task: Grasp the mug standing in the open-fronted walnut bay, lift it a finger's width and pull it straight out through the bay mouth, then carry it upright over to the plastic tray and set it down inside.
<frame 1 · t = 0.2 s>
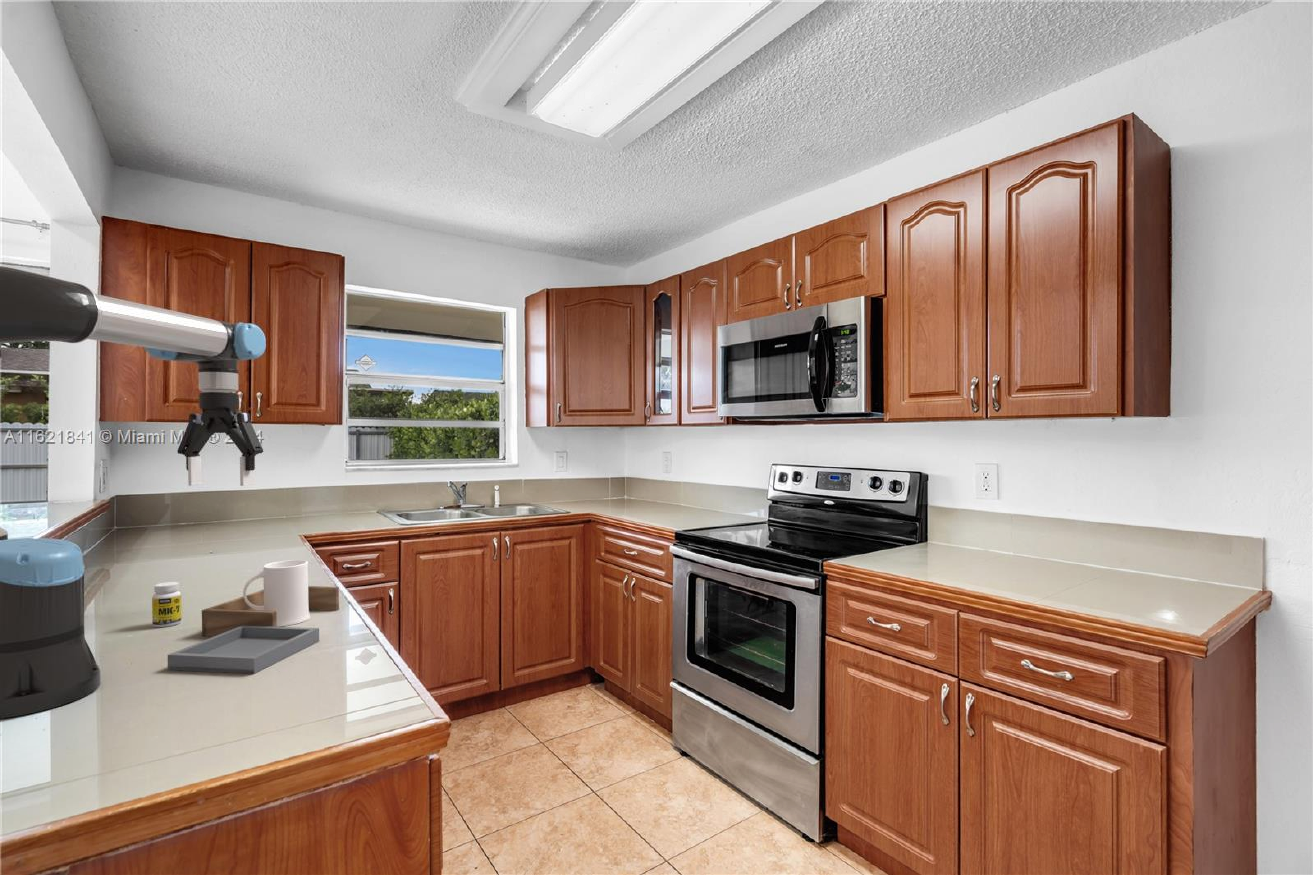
hand: (220, 485, 145), 28 cm above the counter, fingers open, 13 cm apart
supplement bottle: (167, 625, 131), on the counter
bay: (277, 621, 132), on the counter
tray: (248, 654, 113), on the counter
mug: (277, 622, 132), on the counter
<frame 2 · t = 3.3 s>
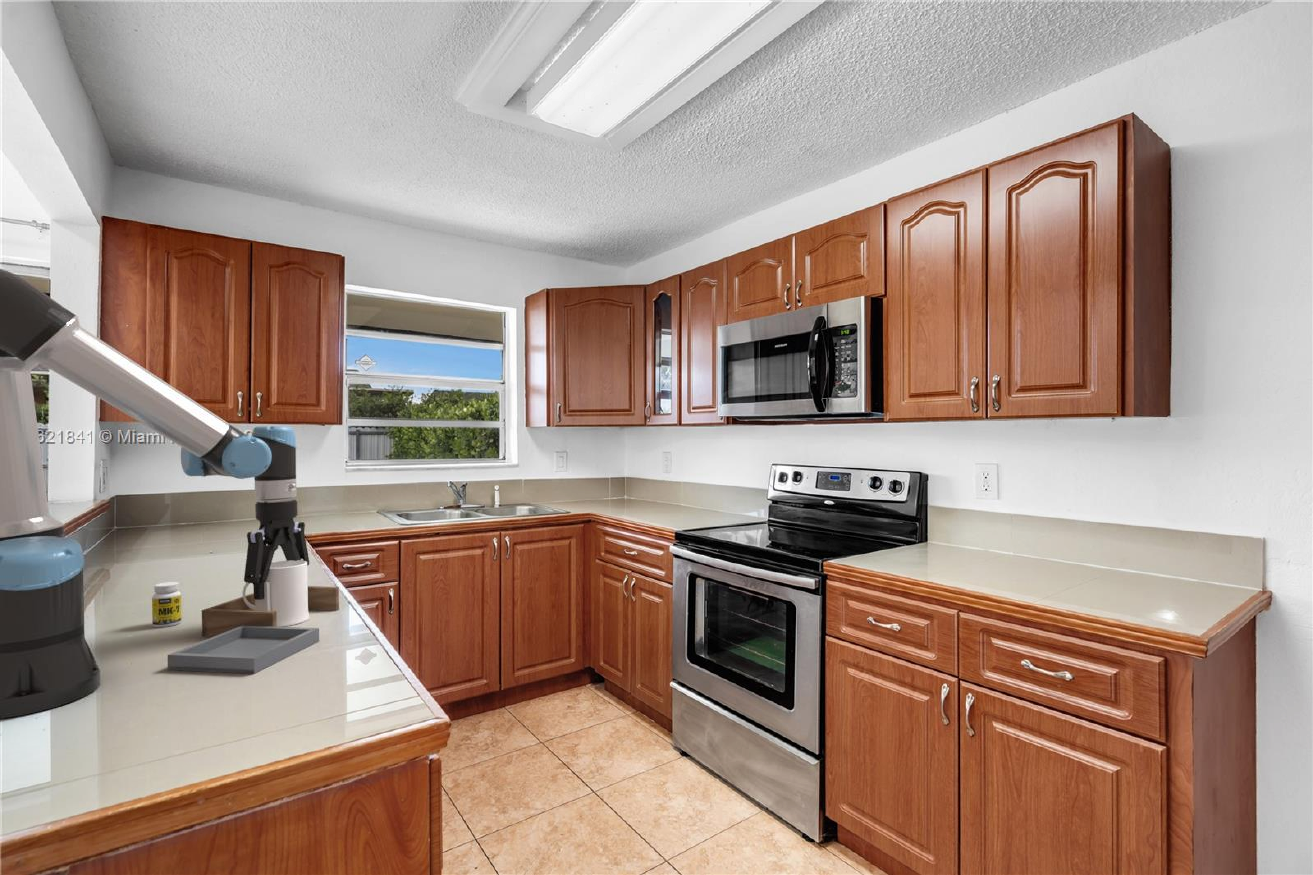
hand: (279, 607, 133), 3 cm above the counter, fingers closed on mug, 8 cm apart
mug: (277, 623, 132), on the counter, touching gripper
everything else where it was.
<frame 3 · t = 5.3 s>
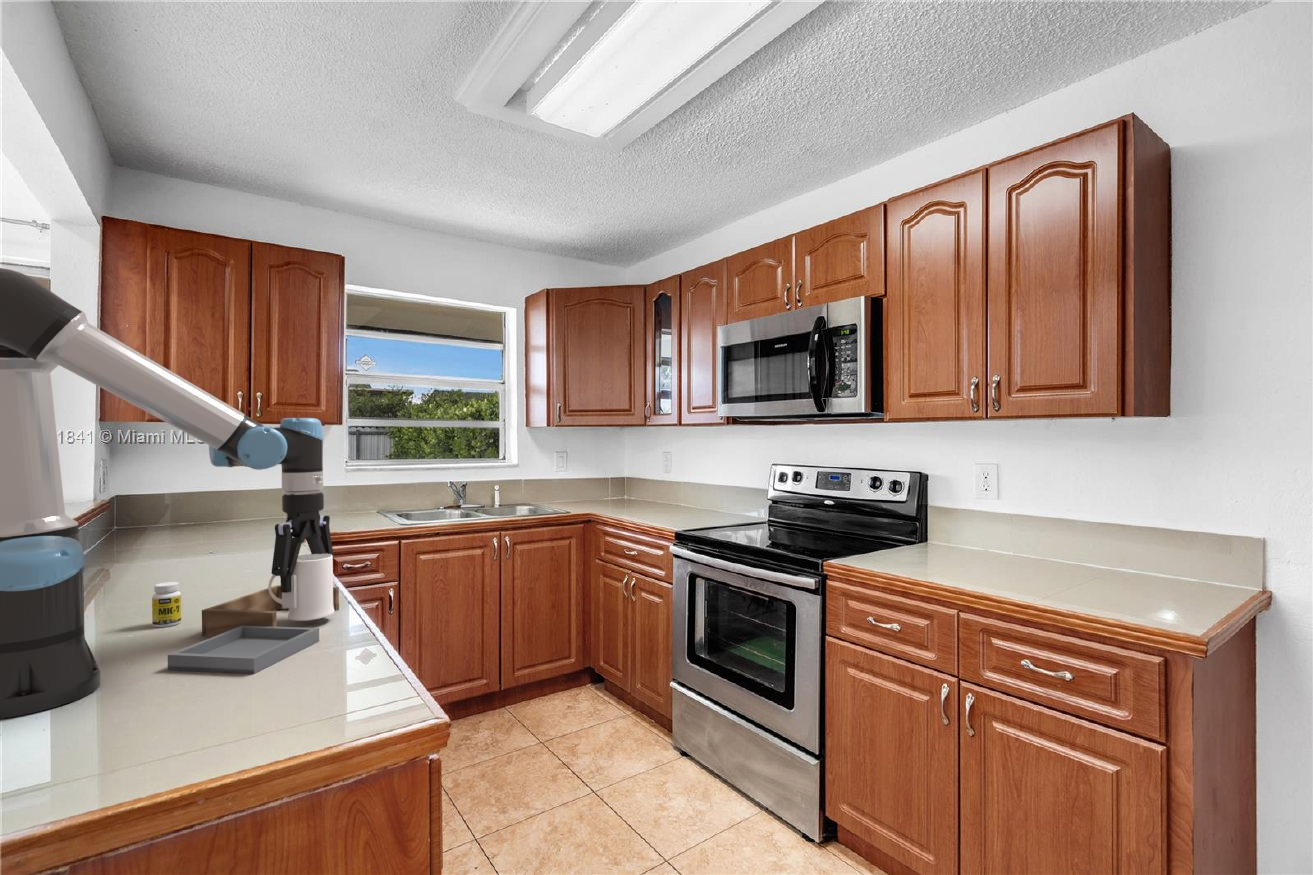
hand: (305, 601, 132), 4 cm above the counter, fingers closed on mug, 8 cm apart
mug: (302, 617, 131), point 1 cm above the counter, touching gripper
everything else where it was.
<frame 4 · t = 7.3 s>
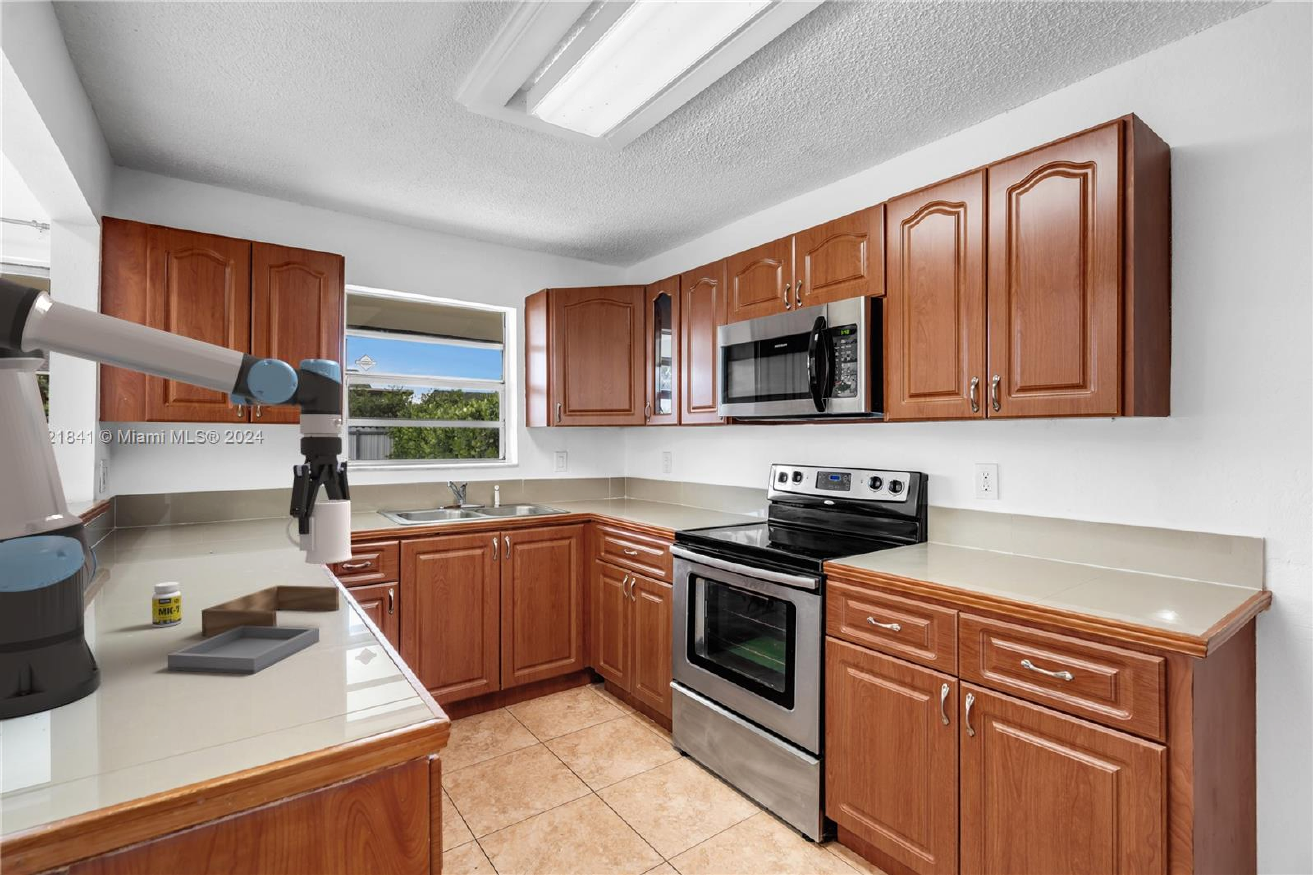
hand: (322, 546, 130), 16 cm above the counter, fingers closed on mug, 8 cm apart
mug: (319, 561, 129), point 13 cm above the counter, touching gripper
everything else where it was.
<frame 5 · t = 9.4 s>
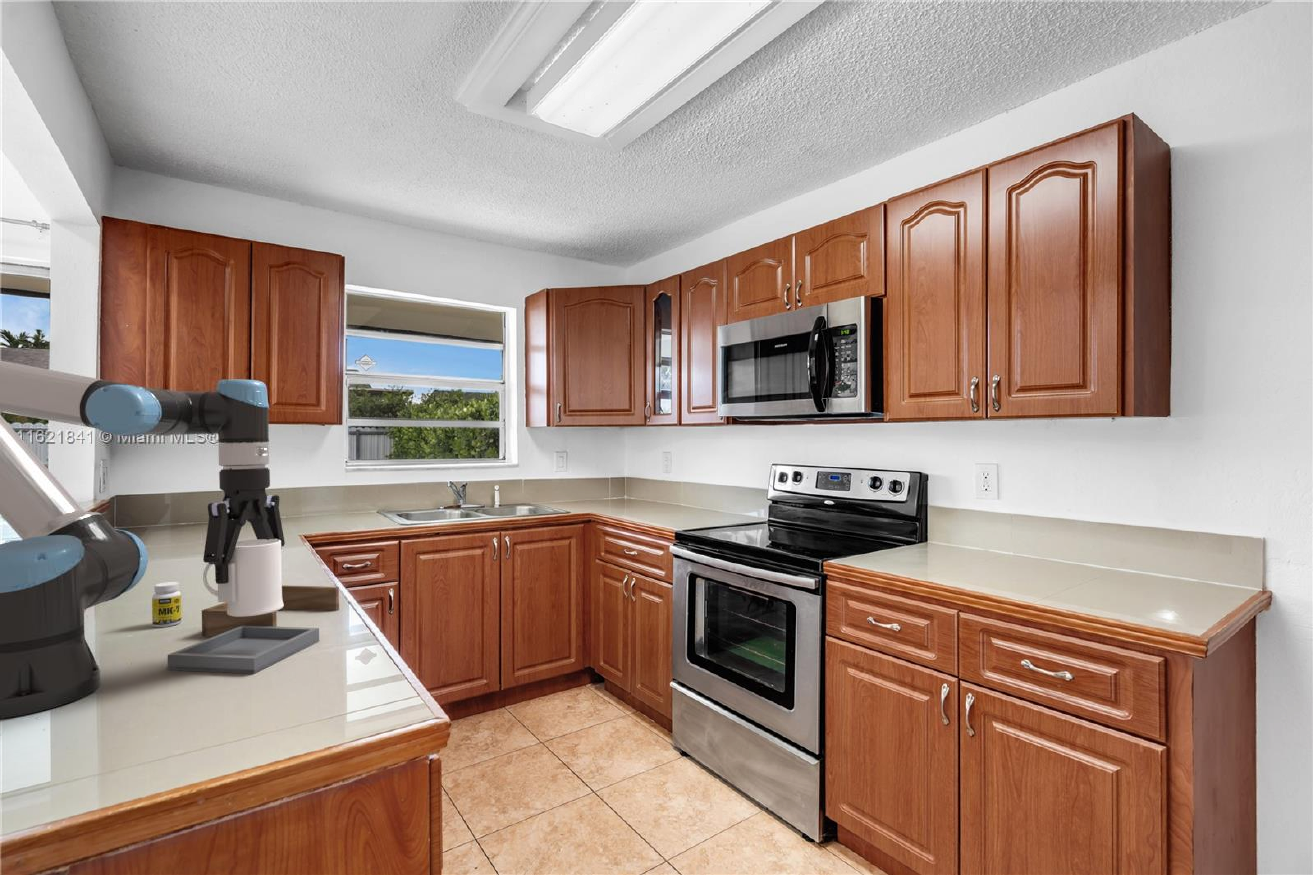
hand: (247, 594, 113), 11 cm above the counter, fingers closed on mug, 8 cm apart
mug: (245, 612, 112), point 8 cm above the counter, touching gripper
everything else where it was.
when the fingers open (4 cm above the counter, at t = 11.0 s): mug stays where it is, resting on tray.
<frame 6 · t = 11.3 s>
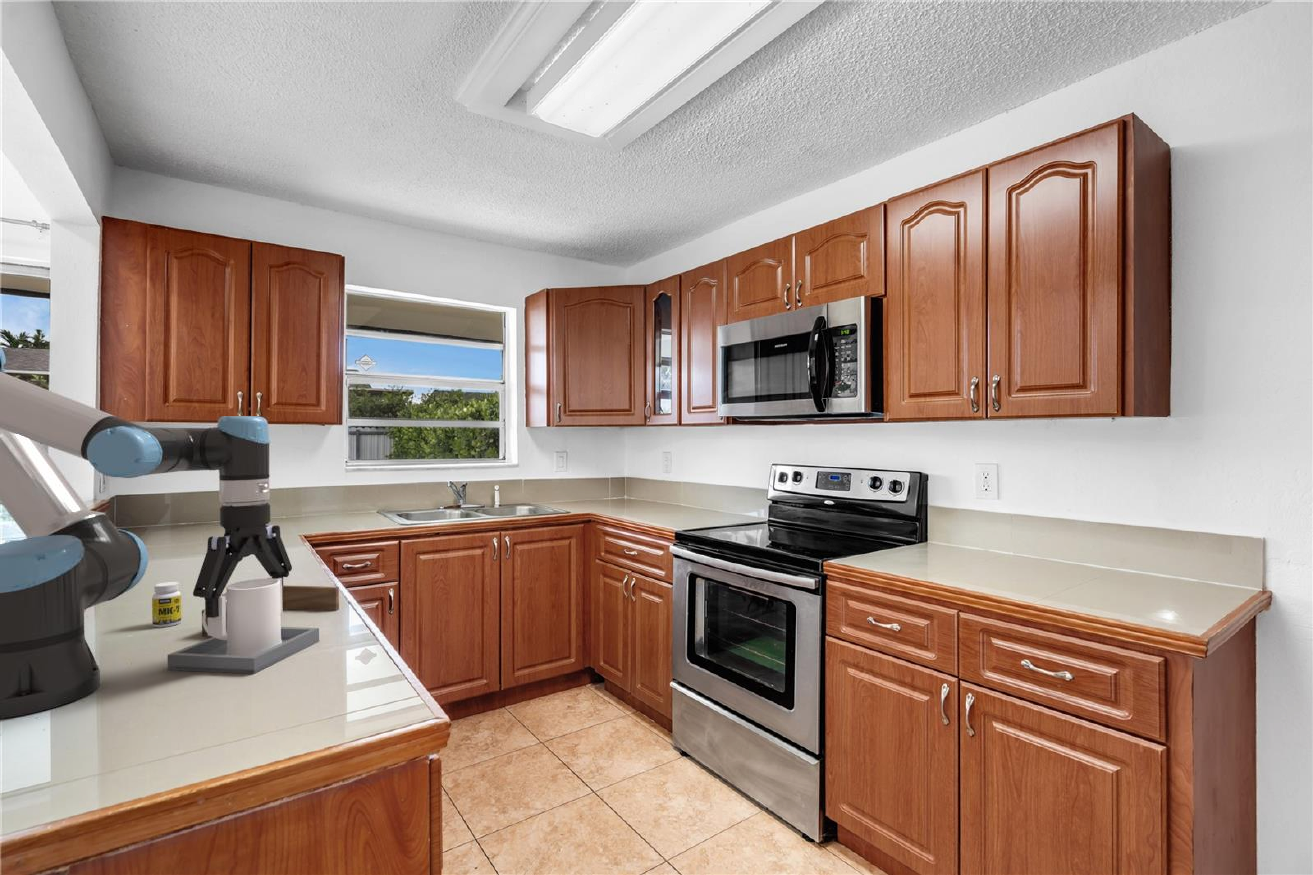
hand: (247, 623, 113), 6 cm above the counter, fingers open, 12 cm apart
mug: (244, 653, 112), resting on tray
everything else where it was.
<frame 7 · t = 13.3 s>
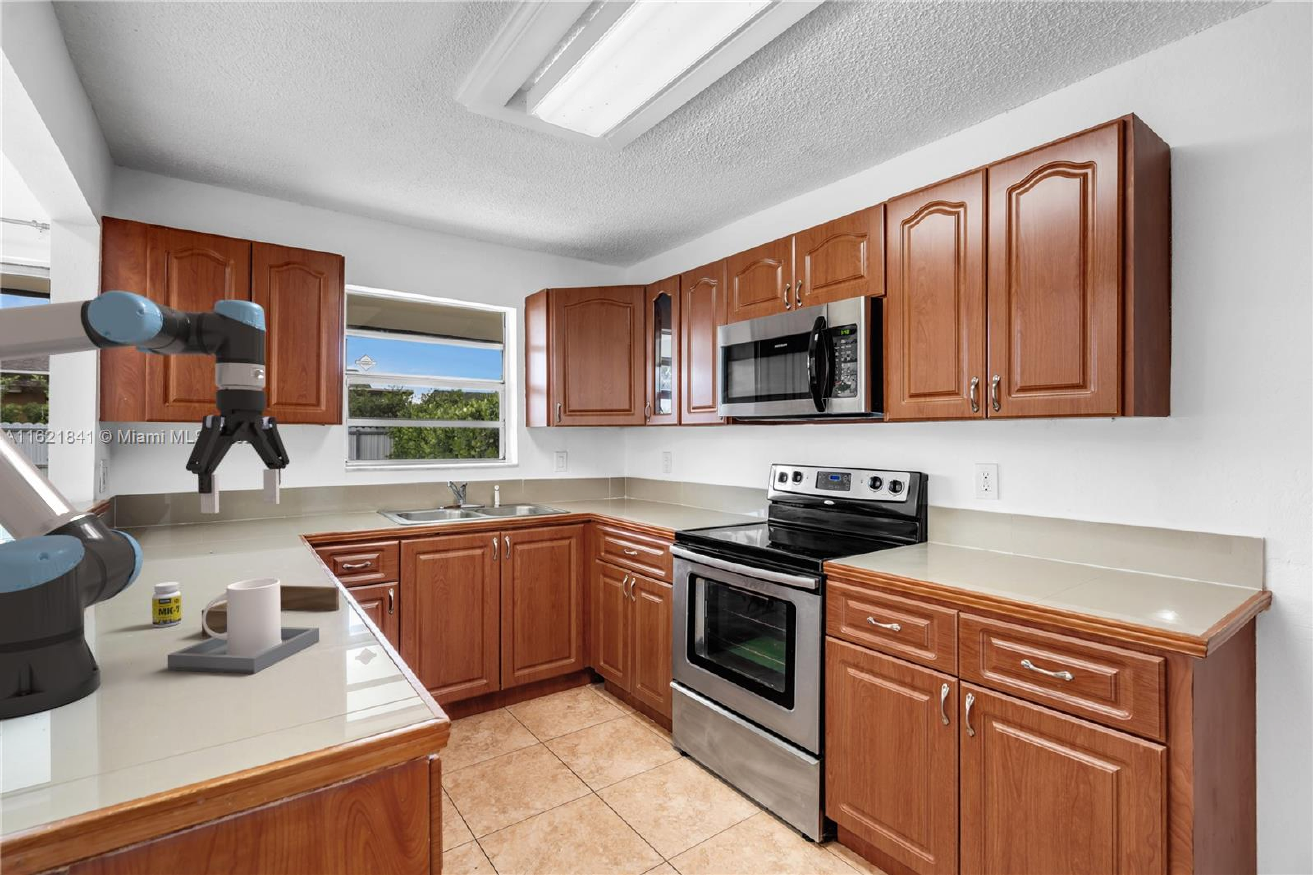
hand: (242, 508, 113), 26 cm above the counter, fingers open, 13 cm apart
nothing on the counter moved.
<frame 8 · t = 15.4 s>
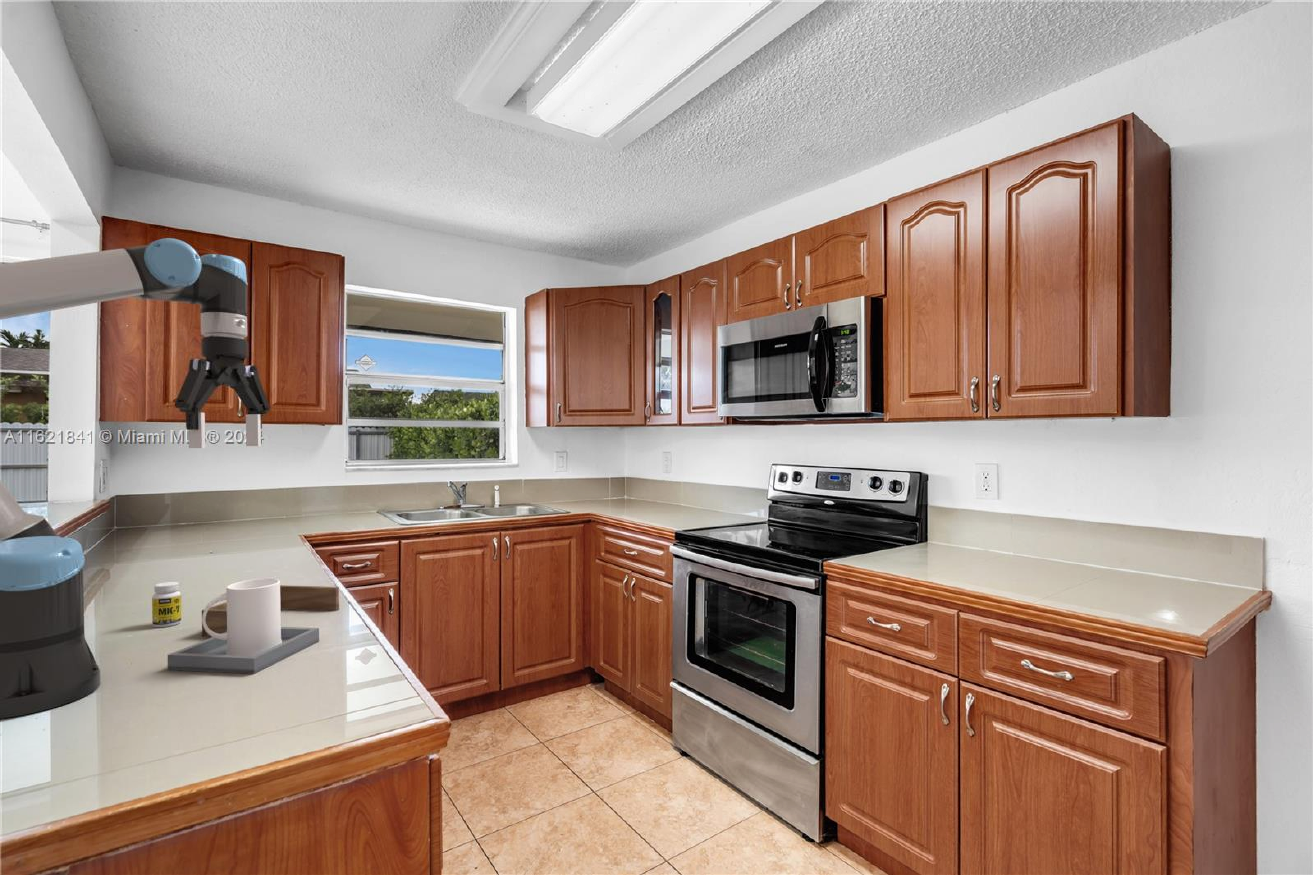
hand: (226, 447, 123), 37 cm above the counter, fingers open, 13 cm apart
nothing on the counter moved.
at the end: mug inside the target area on the tray (0.7 cm from its centre), point 0.4 cm above the tray's base; mug tilted 0°; mug moved 21.1 cm from its start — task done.
